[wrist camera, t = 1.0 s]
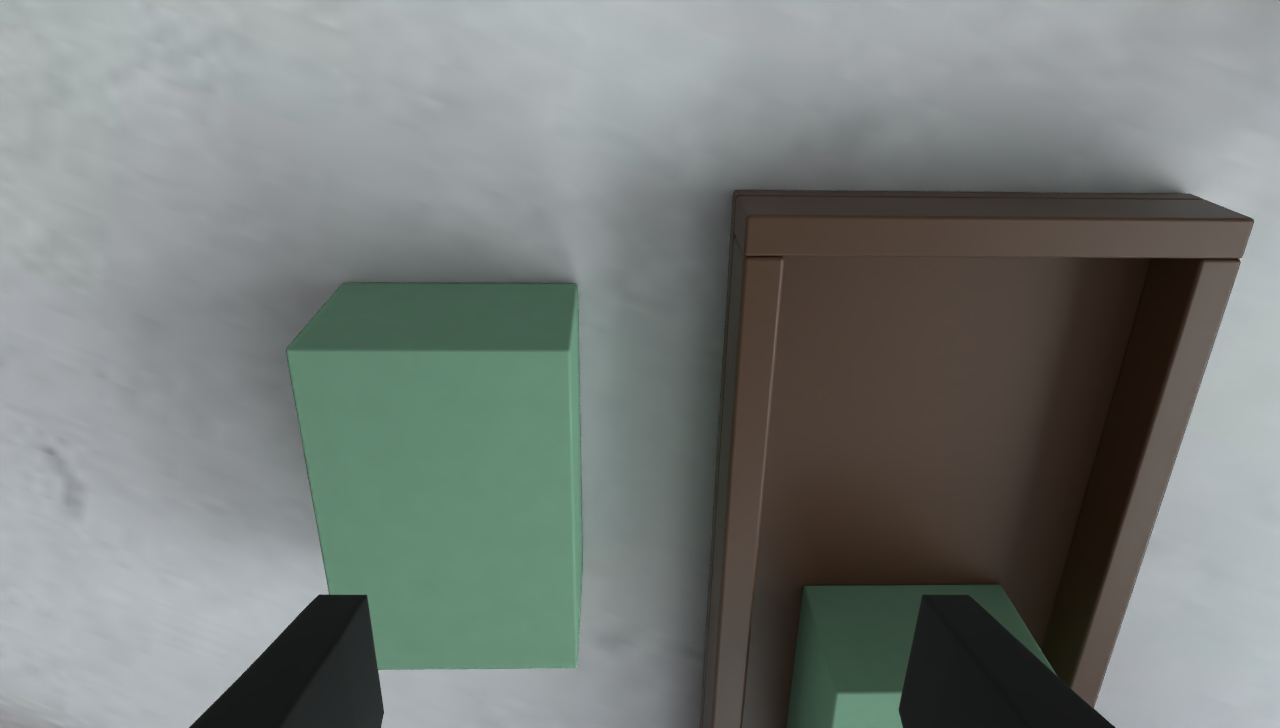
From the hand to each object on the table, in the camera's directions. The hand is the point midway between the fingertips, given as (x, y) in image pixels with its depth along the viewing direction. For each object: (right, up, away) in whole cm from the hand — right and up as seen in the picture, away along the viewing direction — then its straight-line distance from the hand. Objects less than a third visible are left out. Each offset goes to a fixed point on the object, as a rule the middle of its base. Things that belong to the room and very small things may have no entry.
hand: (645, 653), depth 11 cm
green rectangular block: (-4, +2, +9) cm, 10 cm away
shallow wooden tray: (+6, -1, +10) cm, 12 cm away
